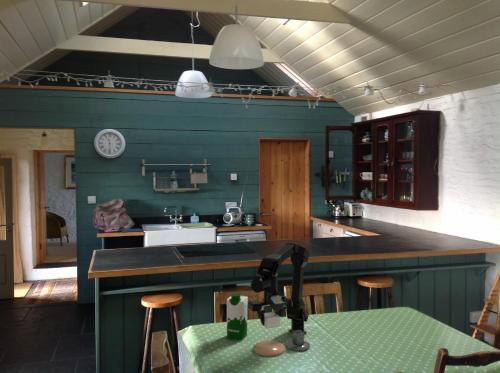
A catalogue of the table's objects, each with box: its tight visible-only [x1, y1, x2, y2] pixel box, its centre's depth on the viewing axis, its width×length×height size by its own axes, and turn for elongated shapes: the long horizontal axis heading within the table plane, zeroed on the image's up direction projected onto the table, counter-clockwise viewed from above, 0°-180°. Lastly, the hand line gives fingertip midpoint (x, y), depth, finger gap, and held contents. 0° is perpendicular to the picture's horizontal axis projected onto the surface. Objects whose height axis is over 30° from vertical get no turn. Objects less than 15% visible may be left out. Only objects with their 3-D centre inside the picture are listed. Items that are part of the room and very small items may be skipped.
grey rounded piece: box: [285, 330, 311, 352], centre depth 186 cm, size 10×10×6 cm
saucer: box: [253, 340, 286, 358], centre depth 183 cm, size 13×13×1 cm
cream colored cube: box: [260, 311, 281, 329], centre depth 182 cm, size 6×6×4 cm
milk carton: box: [226, 293, 249, 342], centre depth 196 cm, size 9×9×20 cm
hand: (269, 323), depth 182 cm, fingers closed on cream colored cube, 6 cm apart
